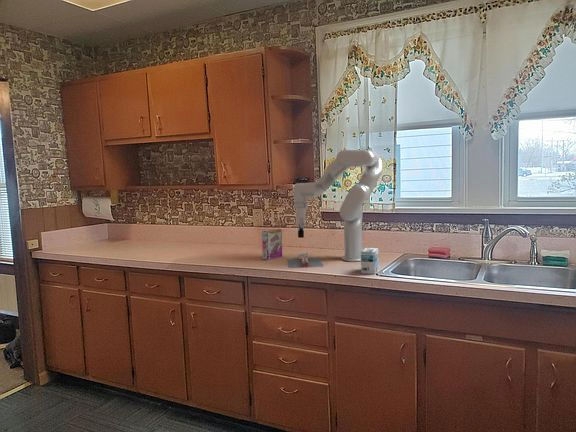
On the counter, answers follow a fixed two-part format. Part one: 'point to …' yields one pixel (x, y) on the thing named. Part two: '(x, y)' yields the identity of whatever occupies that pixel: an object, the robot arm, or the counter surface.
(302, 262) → the tong arm
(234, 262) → the counter surface
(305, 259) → the tongs fixed
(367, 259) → the light bulb box
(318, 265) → the mat
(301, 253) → the lock tab
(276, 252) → the candy bar box
